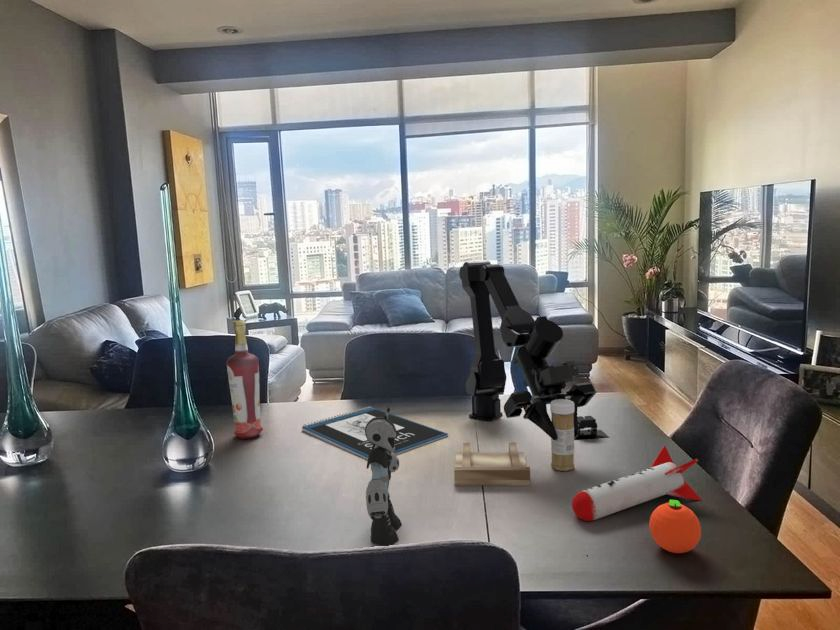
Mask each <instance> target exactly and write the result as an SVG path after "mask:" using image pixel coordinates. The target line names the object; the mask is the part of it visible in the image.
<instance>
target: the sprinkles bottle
mask: <svg viewBox="0 0 840 630" xmlns="http://www.w3.org/2000/svg"><path fill="white" fill-rule="evenodd" d="M549 405H550V406H549V408H550V413H551V414H550V415H551V418H550V419H551V422H552V424H553V426H554V428H555V431H556V433H557V437H558V439H557V440H553V439H552V438H551V437H550V441H551V443H550V445H551V447H550V449H551V463H550V465H551V468H552V469H554V470H557V471H561V472H562V471H563V472H567V471H571V470H573V469H574V468H575V464H574V463H575V458H574V454H575V440H574V411H575V408H574V402H573V401H571V400H567V399H556V400H553V401H551V404H549Z"/></svg>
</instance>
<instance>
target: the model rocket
mask: <svg viewBox="0 0 840 630" xmlns="http://www.w3.org/2000/svg"><path fill="white" fill-rule="evenodd" d="M697 462H699V459H698V458H695V459H693V460H691V461H689V462H685V463H684V464H682V465H680V466H677V465H676V464H675V463H674V461H673V459H672V457H671V454H670V453H669V450H668V448H667V446H666V445H664V446H662V449H661V450H660V452H659V453H658V454H657V457H656V458H655V459H654V461H653V463H652V465H651V466H650V467H649V468H646V469H642V470H640V471H637V472H634V473H631V474H628V475H625V476H622V477H619V478H616V479H613V480H610V481H607V482H604V483H601V484H599V485H595V486H592V487H590V488H585V489H584V490H580V491H578V492H577V493H576V494H575V495H574V496H573V498H572V502H571V507H572V508H571V509H572V511H573V513H574V515H575V516H576V517H577V518H578V519H580V520H582V521H586V522H591V521H595V520H599V519H601V518H604V517H606V516H609V515H613V514H614V513H618V512H620V511H623V510H627V509H629V508H632V507H635V506H637V505H640V504H643V503H646V502H649V501H651V500H653V499H657V498H659V497H662V496H664V495H668V496H672V497H675V498H676V497H678V498H681V499H686V500H687V499H688V500H692V501H703V499H702V498H701V497H700V496H699V495H698V494H697V493H696V491H694V489H693V488H692V487H691V486H690V484H688V483H687V481H686V480H685V479H684V476H683V475H684V474H683V473H684V472H686V471H687V470H688V469H689V468H692V466H694V465H695V464H696V463H697Z"/></svg>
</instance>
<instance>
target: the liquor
mask: <svg viewBox="0 0 840 630" xmlns="http://www.w3.org/2000/svg"><path fill="white" fill-rule="evenodd" d="M232 323H233V330H234V333H235V343H234V344H235V346H234V348H235V351H234V354H233V355H231V356H229V357H228V358H227V360H226V362H225V363H226V368H227V369H226V371H227V377H228V386H229V391H230V396H231V397H230V399H231V405H232V413H233V422H234V430H233V434H234V435H235V436H236V437H238V438H239V439H240V440H250V439H255V438H257V437H258V436H259V435H260V434H261V433H262V432H263V430H264V428H263V427H262V425H261V423H262V421H261V405H260V403H261V402H260V370H259V369H260V366H259V365H260V364H259V357H258V356H257V355H255V354H253V353H250V352H249V349H248V348H249V347H248V343H247V342H248V341H247V336H246V330H247V329H246V328H247V327H246V326H247V325H246V320H244V319H243V320H234V321H233V322H232Z"/></svg>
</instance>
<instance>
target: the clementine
mask: <svg viewBox="0 0 840 630" xmlns="http://www.w3.org/2000/svg"><path fill="white" fill-rule="evenodd" d="M648 523H649V524H648V525H649V532H650V534H651V536H652V539H653V540H654V541H655V543H656V544H657V545H658V546H659V547H661V548H662V549H663V550H666V551H667V552H669V553H673V554H683V553H688V552H690V551H692V550H693V549H694V548H696V547H697V545H698V543H699V541H700V540H701V537H702V528H701V522H700V521H699V518H698V517H697V515H696V514H695V512H694V511H693V510H692V509H690V508H689V507H687V506H686V505H685V504H681V502H680V501H679V500H677V499H669V501H668V502H665V503H663V504H660V505H658V506H657V507H655V509H654V510H653V511H652V513H651V514H650V518H649V522H648Z"/></svg>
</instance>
